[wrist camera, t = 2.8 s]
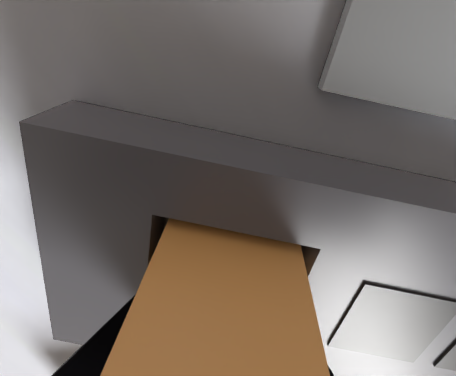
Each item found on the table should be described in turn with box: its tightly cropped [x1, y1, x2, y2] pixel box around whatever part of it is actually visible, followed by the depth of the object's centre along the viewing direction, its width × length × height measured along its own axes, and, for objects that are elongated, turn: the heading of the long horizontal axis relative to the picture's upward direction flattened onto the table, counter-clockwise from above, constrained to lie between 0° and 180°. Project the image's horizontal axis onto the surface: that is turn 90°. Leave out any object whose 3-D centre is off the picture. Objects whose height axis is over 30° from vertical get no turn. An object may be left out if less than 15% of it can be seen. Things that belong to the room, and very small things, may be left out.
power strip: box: [19, 100, 456, 376], centre depth 11 cm, size 24×9×3 cm, turn 79°
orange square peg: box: [100, 218, 330, 376], centre depth 8 cm, size 4×4×8 cm
